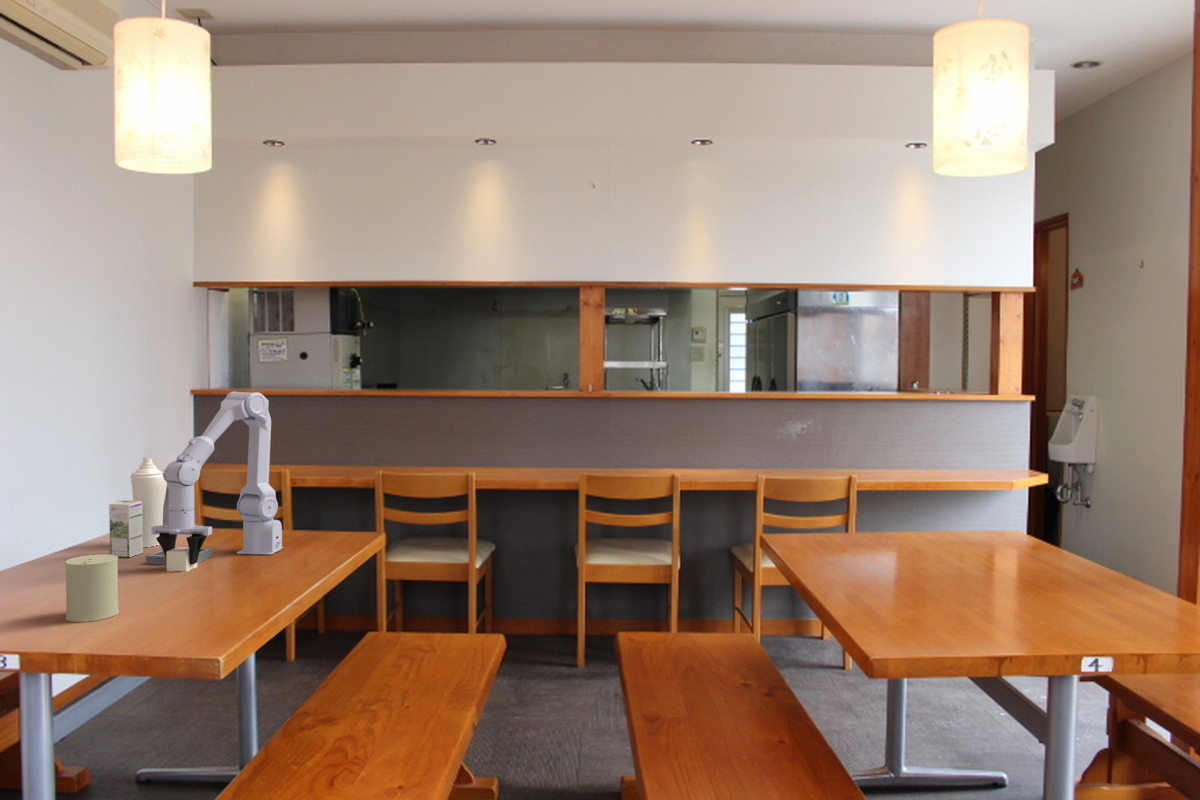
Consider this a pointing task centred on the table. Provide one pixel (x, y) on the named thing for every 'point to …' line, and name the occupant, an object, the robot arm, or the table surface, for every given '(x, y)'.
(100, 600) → the can
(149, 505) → the spray can
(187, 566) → the cream cube
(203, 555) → the slate dish
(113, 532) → the syrup box
